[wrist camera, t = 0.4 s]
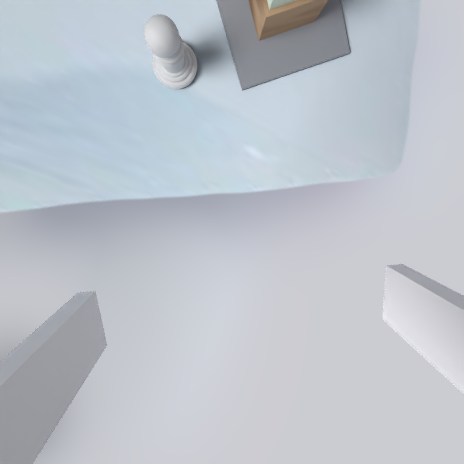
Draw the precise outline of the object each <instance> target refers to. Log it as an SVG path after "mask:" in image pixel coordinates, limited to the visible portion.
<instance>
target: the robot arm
mask: <svg viewBox="0 0 464 464" xmlns="http://www.w3.org/2000/svg"><path fill="white" fill-rule="evenodd" d="M382 319H383V320H384V321H385V322H386V323H387V324H388V325H389V326H390V327H391V328H392V329H394V330H395V331H396V332H397V333H398V334H399V335H400V336H401V337H402V338H403V339H404V340H406V341H407V342H408V343H409V344H410V345H411V346H412V347H413V348H414V349H415V350H416V351H417V352H419V353H420V354H421V355H422V356H423V357H424V358H425V359H426V360H427V361H428V362H430V363H431V364H432V365H433V366H434V367H435V368H436V369H437V370H438V371H439V372H440V373H441V374H442V375H444V376H445V377H446V378H447V379H448V380H449V381H450V382H451V383H452V384H454V386H456V387H457V388H458V389H459V390H460V391H461V392H462V393H463V394H464V296H463V295H461V294H459V293H457V292H455V291H453V290H451V289H449V288H447V287H446V286H444V285H442V284H440V283H438V282H436V281H434V280H432V279H430V278H428V277H426V276H424V275H422V274H421V273H419V272H417V271H415V270H413V269H411V268H409V267H407V266H405V265H403V264H399V265H388V266H386V277H385V290H384V304H383V317H382ZM106 346H107V344H106V338H105V333H104V329H103V324H102V320H101V315H100V311H99V306H98V301H97V297H96V292H95V291H93V292H80V293H77V294H76V295H75V296H73V297H72V298H71V299H70V300H69V301H68V302H67V303H66V304H64V305H63V306H62V307H61V308H60V309H59V310H58V311H57V312H56V313H55V314H53V315H52V316H51V317H50V318H49V319H48V320H46V321H45V322H44V323H43V324H42V325H41V326H40V327H39V328H37V329H36V330H35V331H34V332H33V333H32V334H31V335H30V336H29V337H27V338H26V339H25V340H24V341H23V342H22V343H21V344H19V345H18V346H17V347H16V348H15V349H14V350H13V351H11V353H9V354H8V355H7V356H6V357H5V358H4V359H3V360H1V361H0V464H33V462H34V461H35V459H36V458H37V456H38V454H39V453H40V451H41V450H42V448H43V446H44V445H45V443H46V442H47V440H48V438H49V437H50V435H51V433H52V432H53V431H54V429H55V427H56V426H57V424H58V423H59V421H60V419H61V418H62V416H63V415H64V413H65V411H66V410H67V408H68V407H69V405H70V403H71V402H72V400H73V398H74V397H75V395H76V394H77V392H78V391H79V389H80V387H81V386H82V384H83V383H84V381H85V379H86V378H87V376H88V375H89V373H90V372H91V370H92V368H93V367H94V365H95V363H96V362H97V360H98V359H99V357H100V356H101V354H102V352H103V351H104V349H105V348H106Z"/></svg>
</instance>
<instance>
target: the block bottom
mask: <svg viewBox="0 0 464 464" xmlns="http://www.w3.org/2000/svg"><path fill="white" fill-rule="evenodd" d="M248 1H249V5H250V9H251V13H252V16H253V20H254V24H255V28H256V32H257V36H258V39H259V41H260V40H263V39H266V38H269V37H272V36H274V35H277V34H280V33H283V32H286V31H289V30H292V29H295V28H298V27H300V26H303V25H306V24H309V23H312V22H315V20H316V18H317V17H318V15H319V14H320V12H321V11H322V9H323V8H324V6H325V4H326V3H327V1H328V0H297V1H294V2H292V3H289V4H286V5H283V6H280V7H277V8H274V9H271V10H269V6H268V2H267V0H248Z"/></svg>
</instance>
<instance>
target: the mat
mask: <svg viewBox="0 0 464 464" xmlns="http://www.w3.org/2000/svg"><path fill="white" fill-rule="evenodd" d="M217 4H218V7H219V11H220V14H221V18H222V21H223V25H224V28H225V32H226V35H227V39H228V42H229V46H230V49H231V53H232V56H233V60H234V63H235V67H236V70H237V74H238V77H239V81H240V84H241V88H242V90H245V89H248V88H251V87H254V86H256V85H259V84H262V83H265V82H268V81H271V80H274V79H277V78H280V77H283V76H286V75H289V74H292V73H295V72H297V71H300V70H303V69H306V68H309V67H312V66H315V65H318V64H321V63H324V62H327V61H330V60H333V59H335V58H338V57H341V56H344V55H347V54H349V53H350V50H349V44H348V39H347V34H346V28H345V23H344V18H343V12H342V7H341V2H340V0H328V1H327V3H326V4H325V6H324V8H323V9H322V11H321V12H320V14H319V15H318V17H317V18H316V20H315V22H312V23H309V24H306V25H303V26H300V27H298V28H295V29H292V30H289V31H286V32H283V33H280V34H277V35H274V36H272V37H269V38H266V39H263V40H260V41H259V39H258V36H257V32H256V28H255V24H254V20H253V16H252V13H251V9H250V5H249V1H248V0H217Z"/></svg>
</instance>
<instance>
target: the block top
mask: <svg viewBox="0 0 464 464" xmlns="http://www.w3.org/2000/svg"><path fill="white" fill-rule="evenodd" d="M294 1H297V0H267V2H268V6H269V10H271V9H274V8H277V7H280V6H283V5H286V4H289V3H292V2H294Z"/></svg>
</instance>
